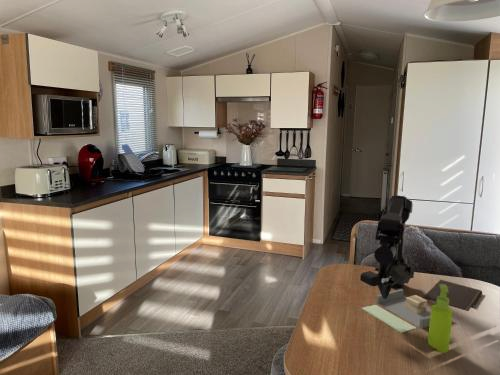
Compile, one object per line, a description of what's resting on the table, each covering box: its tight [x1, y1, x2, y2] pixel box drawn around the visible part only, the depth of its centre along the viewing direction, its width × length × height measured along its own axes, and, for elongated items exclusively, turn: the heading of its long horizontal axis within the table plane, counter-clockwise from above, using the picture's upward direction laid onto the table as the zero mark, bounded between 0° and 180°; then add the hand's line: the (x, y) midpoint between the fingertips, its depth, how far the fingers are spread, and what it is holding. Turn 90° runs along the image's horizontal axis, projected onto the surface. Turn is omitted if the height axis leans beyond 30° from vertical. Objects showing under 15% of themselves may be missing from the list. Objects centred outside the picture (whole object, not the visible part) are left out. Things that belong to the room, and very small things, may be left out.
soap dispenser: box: [427, 284, 454, 354], centre depth 115 cm, size 6×7×20 cm
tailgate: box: [361, 304, 417, 334], centre depth 132 cm, size 1×18×7 cm
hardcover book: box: [422, 279, 483, 312], centre depth 151 cm, size 16×23×2 cm
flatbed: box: [376, 288, 431, 329], centre depth 137 cm, size 13×20×4 cm, turn 27°
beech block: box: [405, 294, 428, 314], centre depth 138 cm, size 5×5×4 cm
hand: (384, 298), depth 129 cm, fingers closed
